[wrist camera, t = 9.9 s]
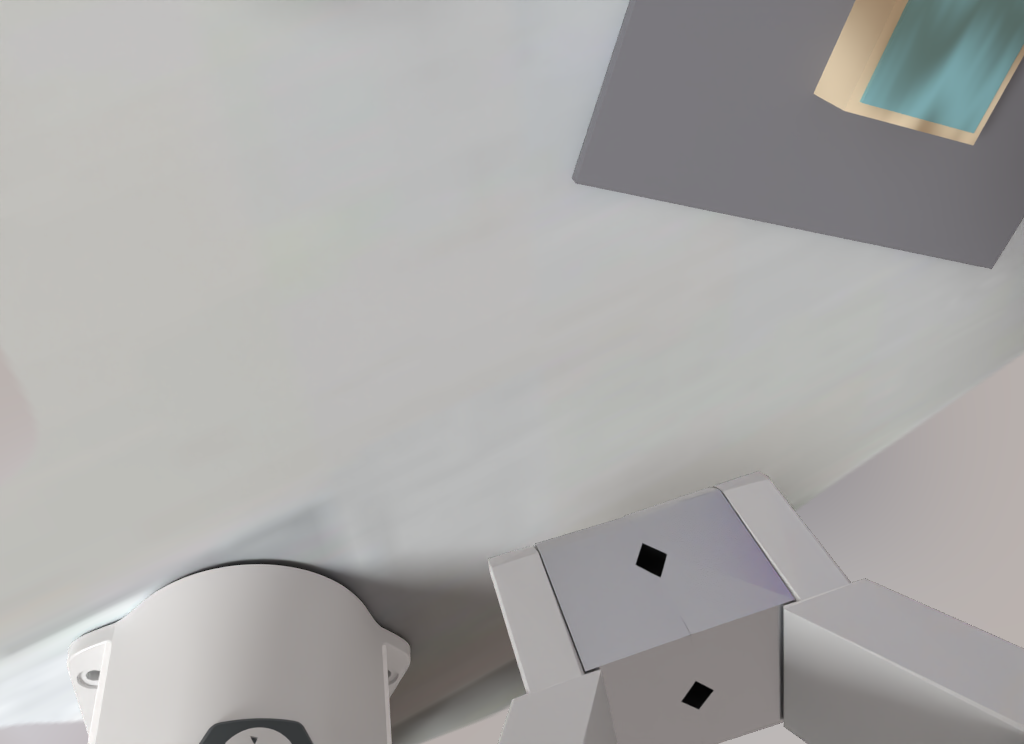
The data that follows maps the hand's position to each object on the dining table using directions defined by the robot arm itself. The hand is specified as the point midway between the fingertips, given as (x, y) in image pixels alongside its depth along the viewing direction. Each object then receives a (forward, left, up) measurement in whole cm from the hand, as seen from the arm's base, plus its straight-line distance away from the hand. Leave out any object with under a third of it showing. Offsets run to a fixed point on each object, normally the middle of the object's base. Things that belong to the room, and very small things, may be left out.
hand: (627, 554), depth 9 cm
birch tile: (+6, -19, -26) cm, 33 cm away
